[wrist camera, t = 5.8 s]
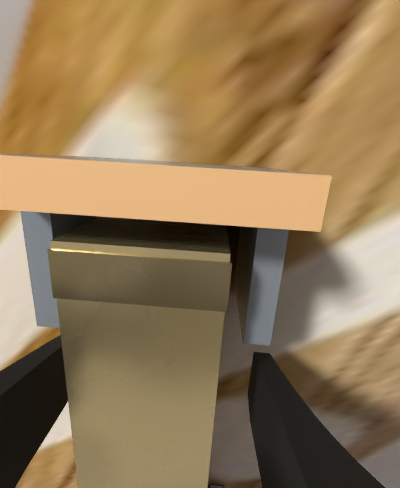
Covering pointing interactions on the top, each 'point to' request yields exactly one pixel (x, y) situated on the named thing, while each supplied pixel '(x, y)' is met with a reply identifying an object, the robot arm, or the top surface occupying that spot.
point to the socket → (166, 215)
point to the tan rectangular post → (141, 347)
